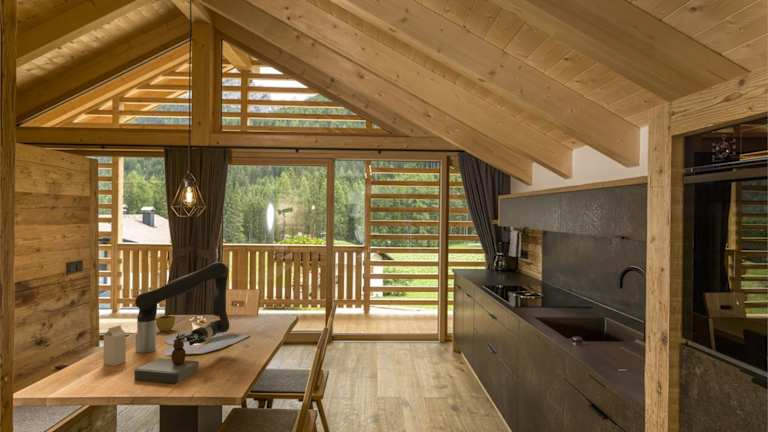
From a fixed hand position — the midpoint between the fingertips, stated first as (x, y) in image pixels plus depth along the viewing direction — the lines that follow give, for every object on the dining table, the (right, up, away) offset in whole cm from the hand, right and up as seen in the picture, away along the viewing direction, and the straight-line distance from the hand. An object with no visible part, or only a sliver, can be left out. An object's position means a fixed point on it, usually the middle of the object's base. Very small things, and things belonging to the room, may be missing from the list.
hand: (182, 342), depth 226 cm
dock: (-5, -14, -4) cm, 16 cm away
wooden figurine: (-1, -10, -3) cm, 10 cm away
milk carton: (-40, -14, +12) cm, 44 cm away
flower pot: (-44, -13, +76) cm, 89 cm away
